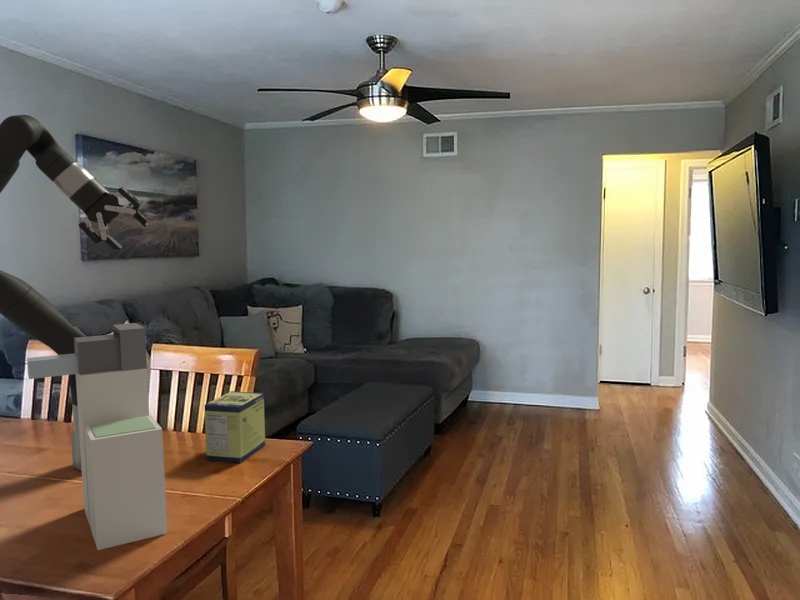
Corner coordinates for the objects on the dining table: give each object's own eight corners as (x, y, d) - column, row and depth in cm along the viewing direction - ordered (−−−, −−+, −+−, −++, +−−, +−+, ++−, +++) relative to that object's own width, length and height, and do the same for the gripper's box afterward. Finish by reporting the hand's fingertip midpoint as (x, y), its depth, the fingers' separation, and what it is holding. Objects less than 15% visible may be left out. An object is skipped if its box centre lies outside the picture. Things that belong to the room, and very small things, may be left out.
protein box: (266, 444, 186) (264, 392, 185) (241, 463, 171) (239, 406, 169) (233, 442, 189) (231, 390, 187) (205, 461, 173) (203, 404, 172)
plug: (29, 380, 129) (27, 346, 128) (27, 374, 135) (25, 341, 134) (130, 369, 139) (129, 337, 138) (125, 363, 145) (123, 333, 144)
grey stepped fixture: (97, 550, 125) (85, 342, 120) (83, 508, 144) (72, 327, 139) (167, 533, 132) (157, 336, 127) (145, 495, 151) (136, 322, 146)
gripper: (53, 209, 148) (109, 260, 154) (99, 168, 147) (153, 220, 153) (62, 204, 155) (115, 253, 161) (106, 165, 154) (157, 215, 160)
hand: (133, 237), depth 157 cm, fingers open, 8 cm apart
